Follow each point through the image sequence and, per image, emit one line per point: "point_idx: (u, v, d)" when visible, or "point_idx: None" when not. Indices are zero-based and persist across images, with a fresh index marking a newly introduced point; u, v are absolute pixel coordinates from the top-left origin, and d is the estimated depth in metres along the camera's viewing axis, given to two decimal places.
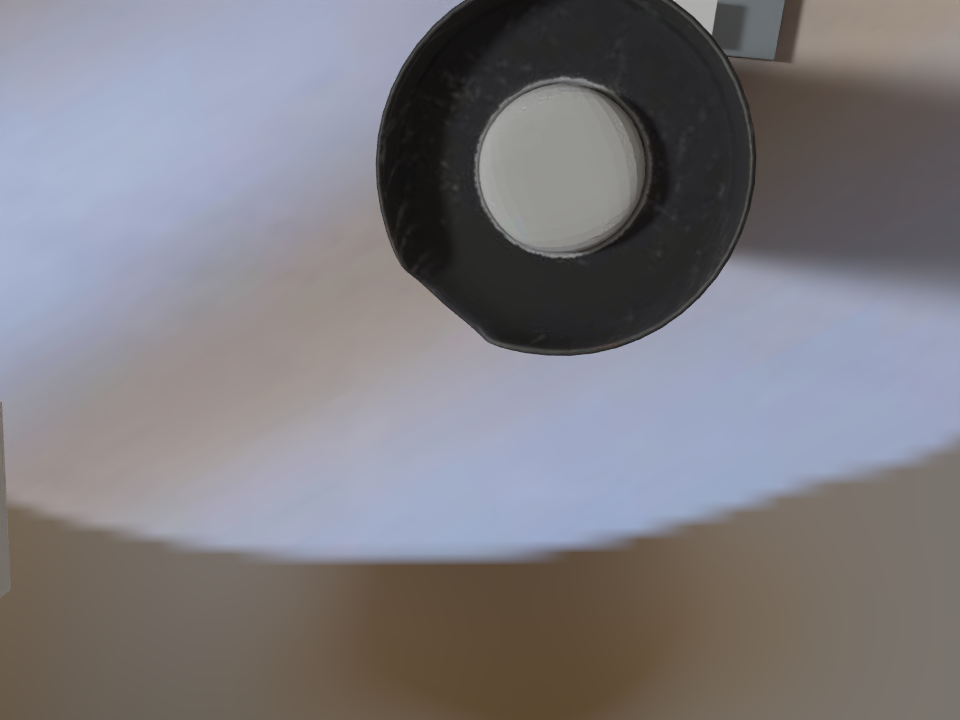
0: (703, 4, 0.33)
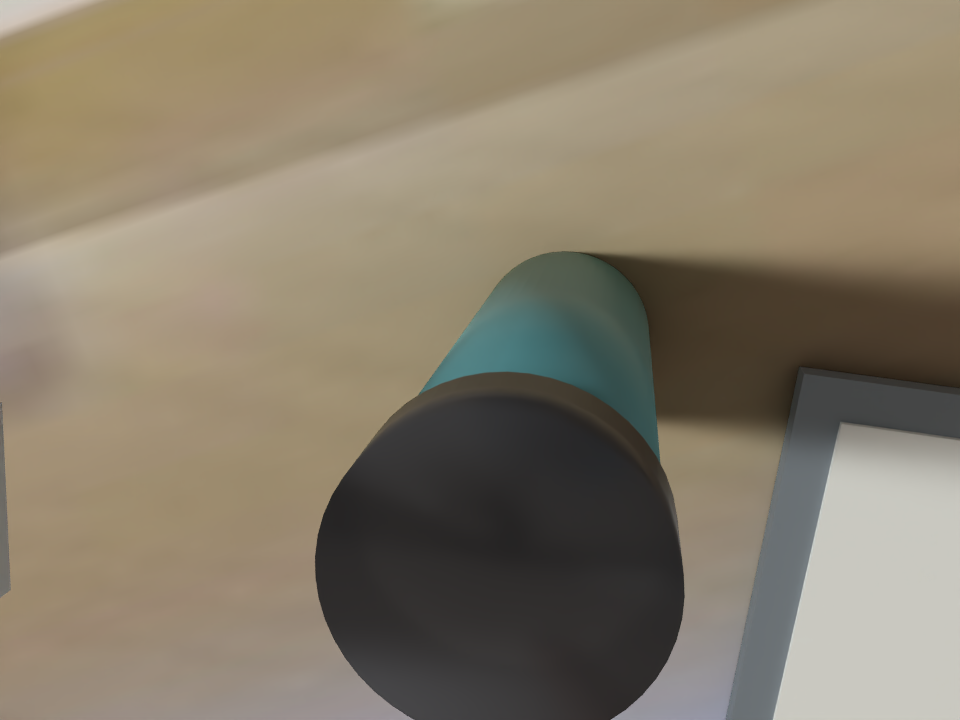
0: None
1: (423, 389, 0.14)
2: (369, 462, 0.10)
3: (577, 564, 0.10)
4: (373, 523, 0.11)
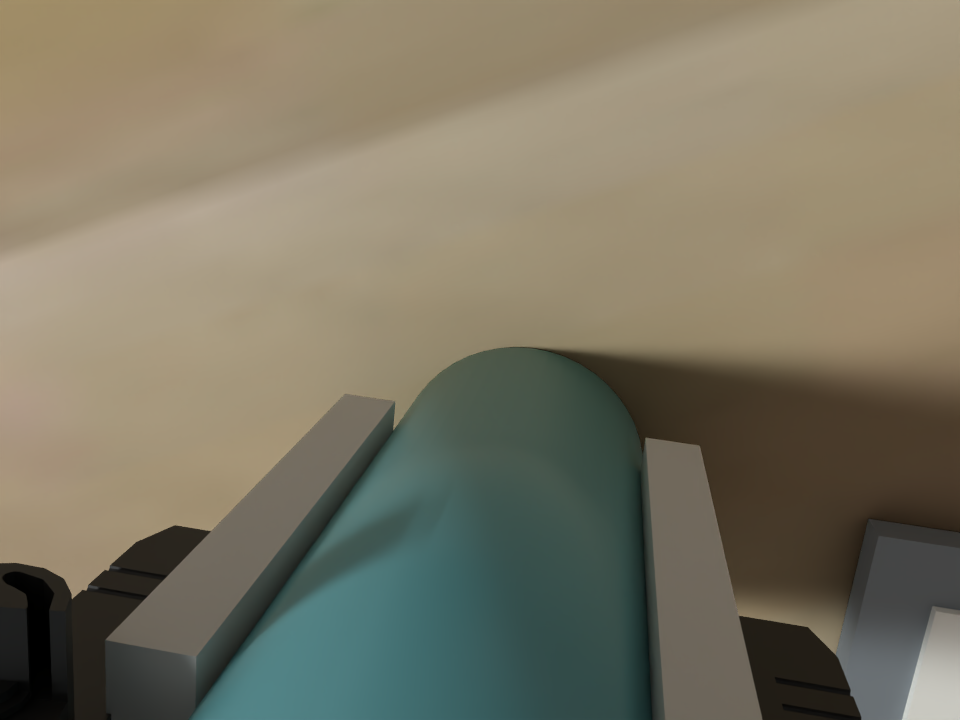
0: None
1: None
2: None
3: None
4: None
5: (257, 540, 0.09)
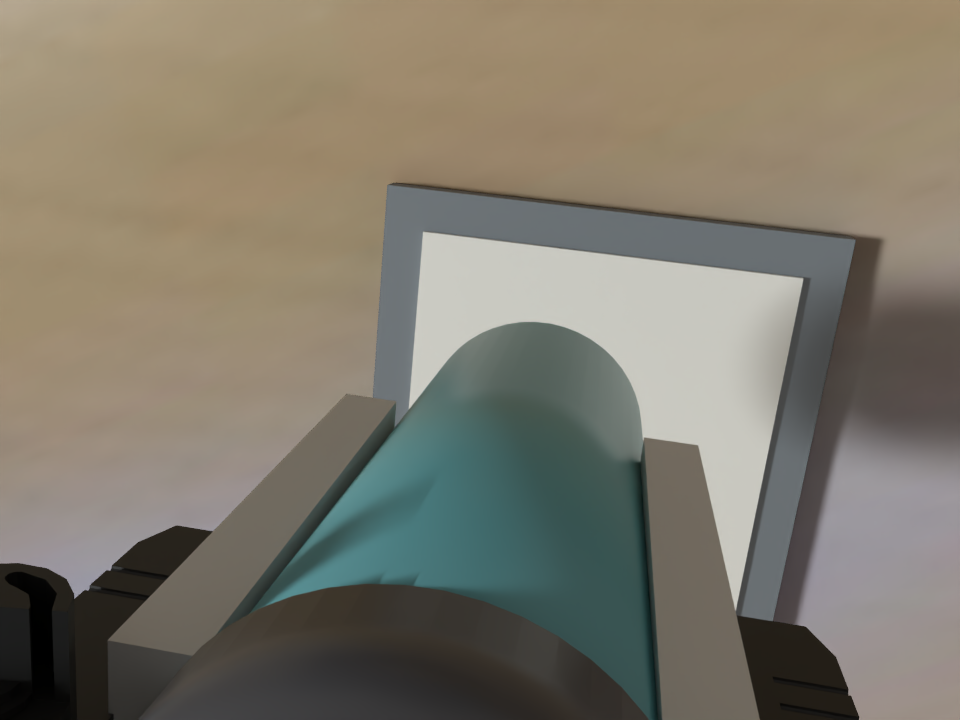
0: None
1: None
2: None
3: None
4: None
5: (259, 540, 0.09)
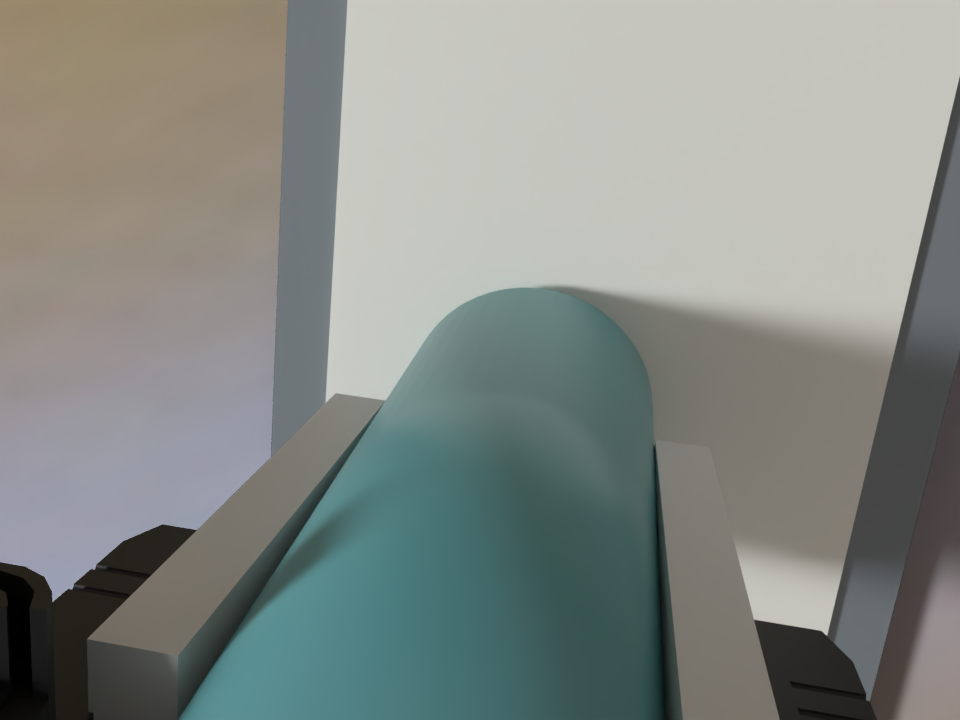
0: None
1: None
2: None
3: None
4: None
5: (242, 539, 0.09)
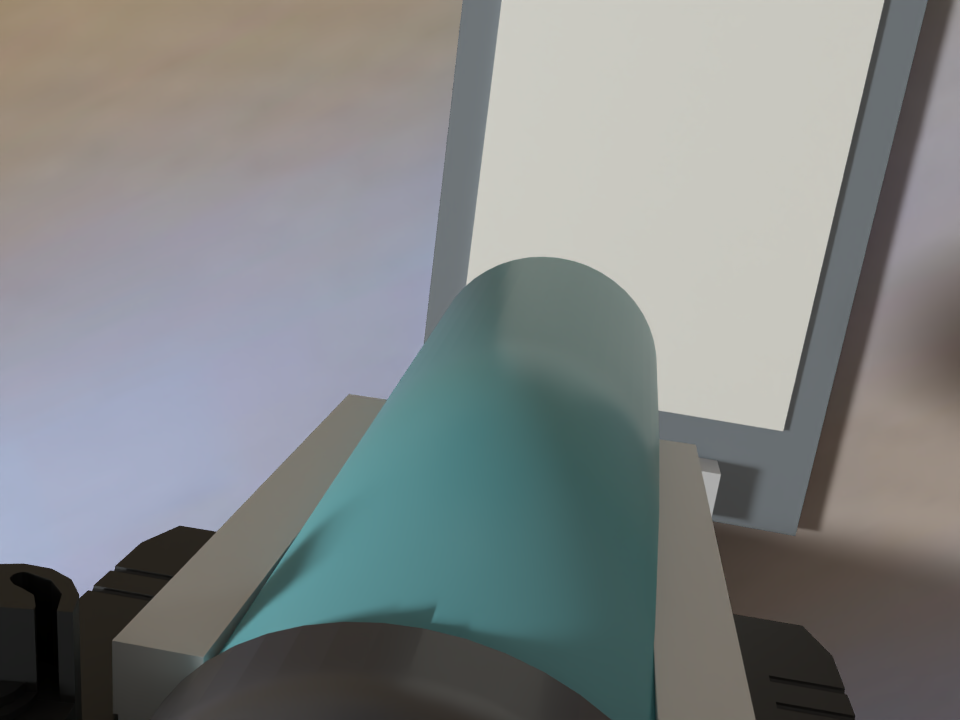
0: None
1: None
2: None
3: None
4: None
5: (263, 541, 0.09)
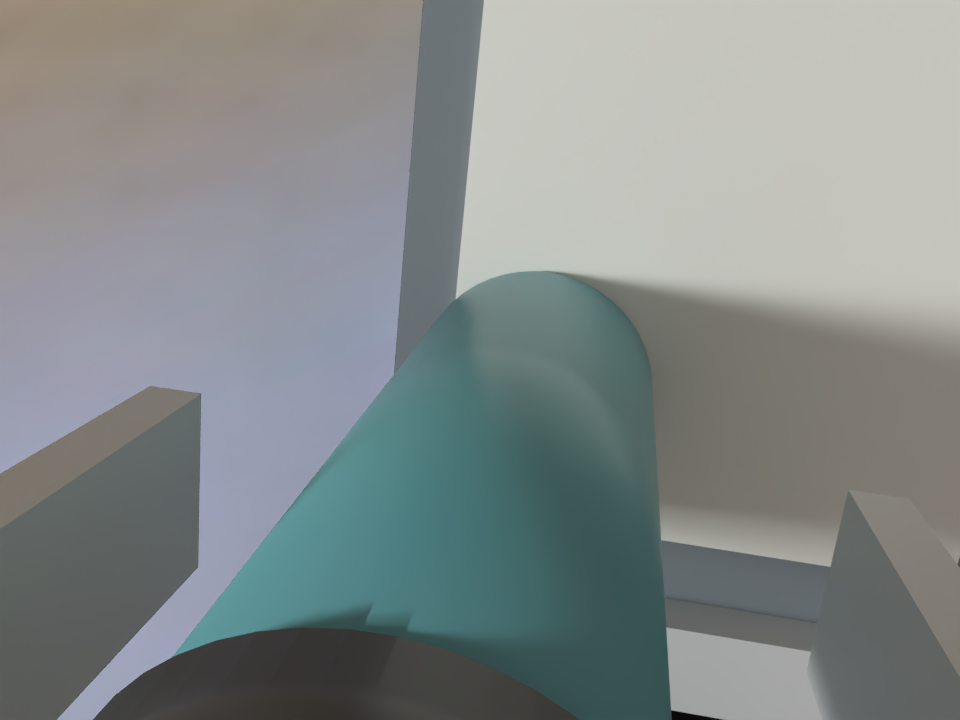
0: None
1: (258, 557, 0.07)
2: None
3: None
4: None
5: None
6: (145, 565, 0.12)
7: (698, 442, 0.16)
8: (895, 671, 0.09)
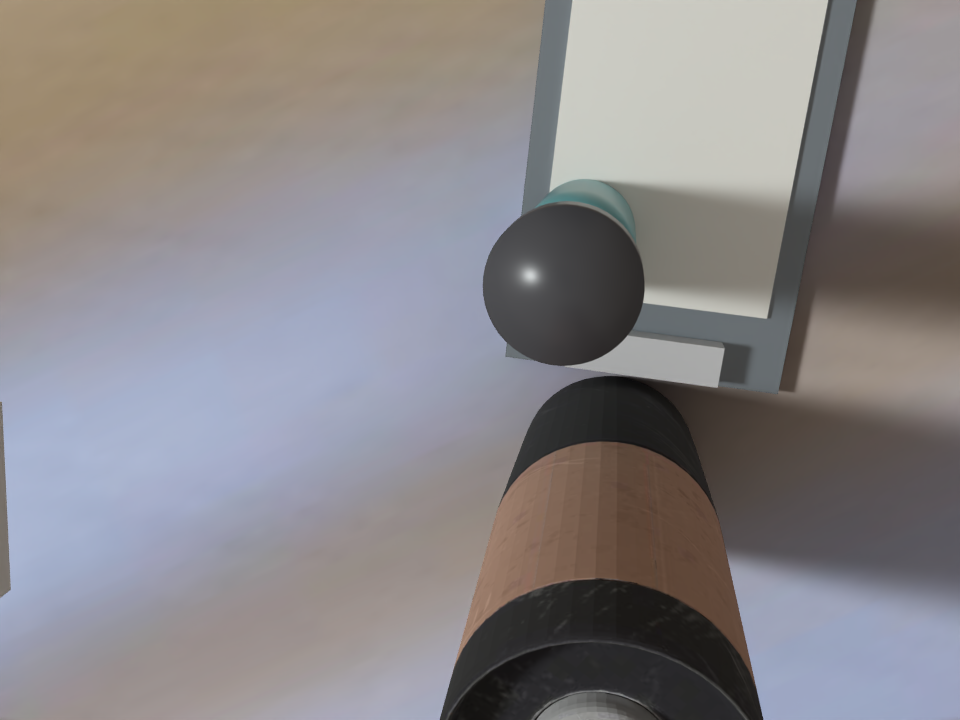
0: (711, 352, 0.35)
1: None
2: (519, 224, 0.24)
3: (600, 281, 0.24)
4: (515, 252, 0.24)
5: None
6: None
7: (655, 256, 0.36)
8: None
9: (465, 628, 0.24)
